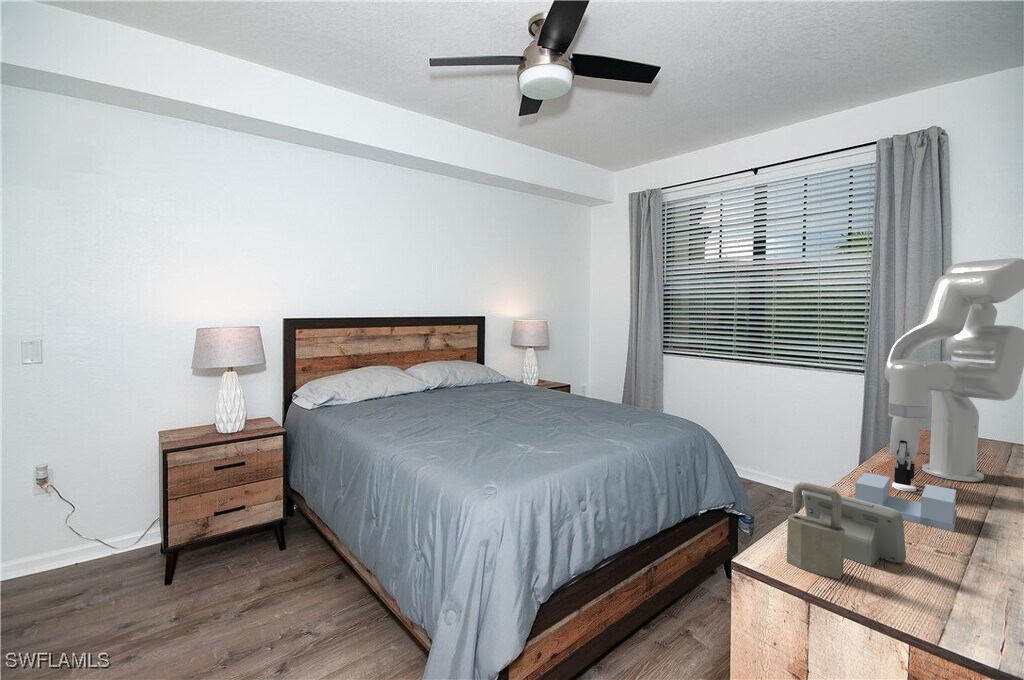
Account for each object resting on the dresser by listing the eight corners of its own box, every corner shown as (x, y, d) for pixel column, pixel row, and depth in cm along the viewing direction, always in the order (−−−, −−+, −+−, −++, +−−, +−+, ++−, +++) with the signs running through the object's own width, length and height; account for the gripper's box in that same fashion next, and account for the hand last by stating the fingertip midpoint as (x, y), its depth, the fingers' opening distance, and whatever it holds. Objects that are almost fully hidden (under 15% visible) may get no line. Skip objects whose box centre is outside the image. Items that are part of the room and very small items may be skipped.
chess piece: (918, 493, 119) (919, 453, 118) (893, 489, 121) (894, 450, 121) (914, 486, 123) (916, 448, 122) (890, 483, 126) (891, 446, 125)
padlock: (791, 555, 89) (794, 476, 88) (844, 572, 83) (847, 488, 82) (785, 563, 86) (787, 482, 85) (838, 581, 80) (841, 494, 79)
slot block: (862, 496, 117) (863, 472, 117) (956, 516, 105) (957, 490, 105) (853, 507, 110) (854, 482, 110) (953, 531, 98) (955, 503, 98)
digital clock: (912, 565, 85) (914, 507, 85) (883, 577, 81) (885, 517, 81) (820, 528, 100) (822, 479, 99) (792, 537, 96) (794, 486, 95)
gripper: (893, 404, 130) (890, 469, 131) (882, 414, 118) (880, 485, 119) (930, 408, 124) (927, 476, 125) (922, 419, 112) (919, 493, 113)
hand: (904, 480), depth 122 cm, fingers open, 5 cm apart
